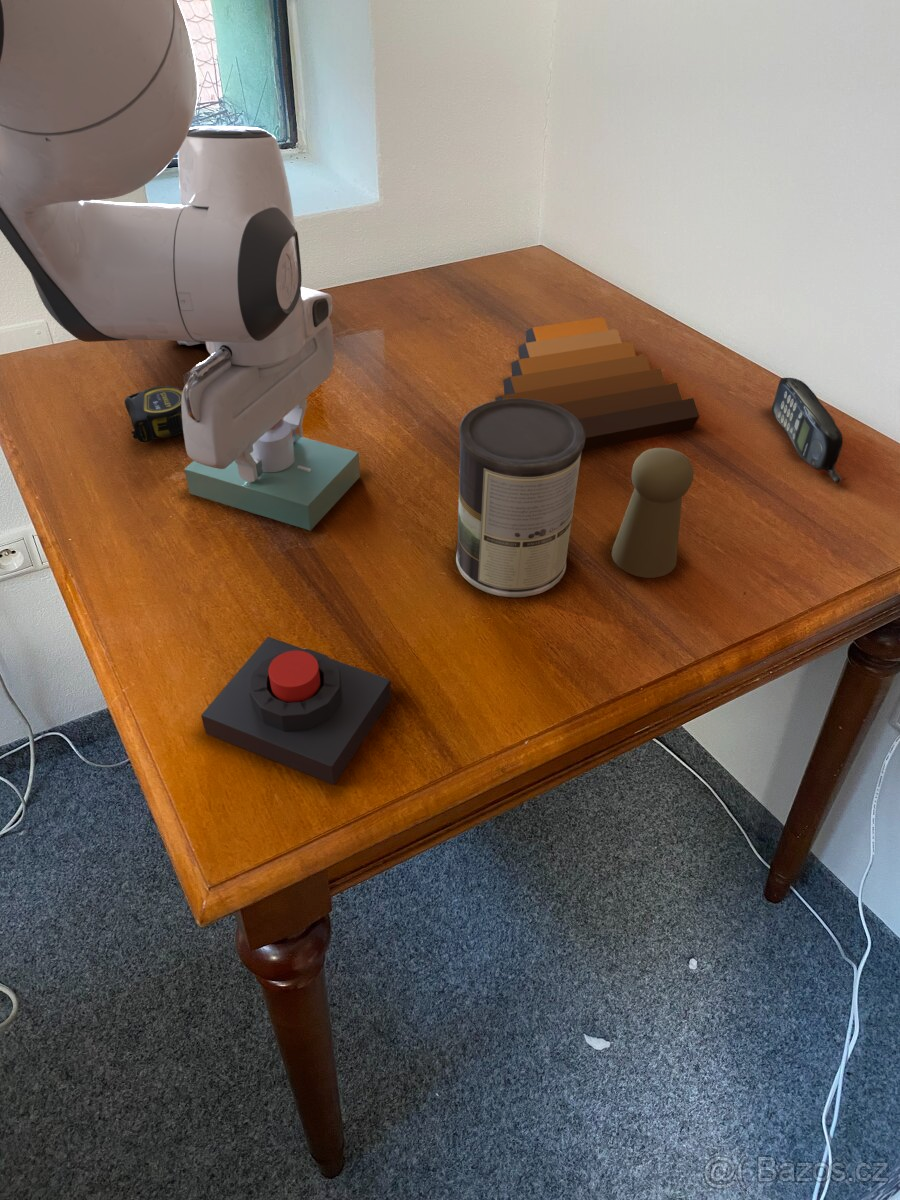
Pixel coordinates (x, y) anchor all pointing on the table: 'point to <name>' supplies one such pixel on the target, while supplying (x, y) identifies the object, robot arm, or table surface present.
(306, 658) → the button
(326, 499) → the rotary dial box
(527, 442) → the coffee can
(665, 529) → the game pawn
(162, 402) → the tape measure
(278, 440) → the rotary dial knob
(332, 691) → the button block
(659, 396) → the pan flute
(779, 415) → the mobile phone
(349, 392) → the table surface
